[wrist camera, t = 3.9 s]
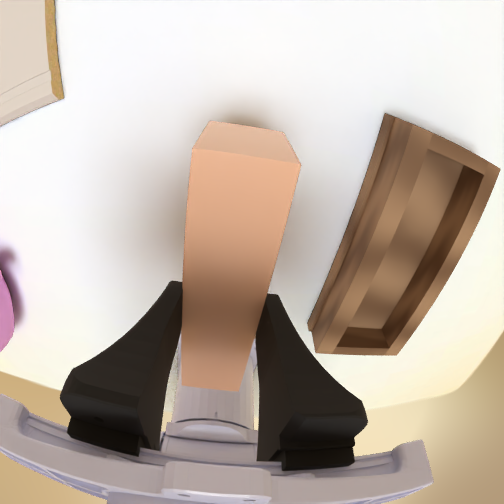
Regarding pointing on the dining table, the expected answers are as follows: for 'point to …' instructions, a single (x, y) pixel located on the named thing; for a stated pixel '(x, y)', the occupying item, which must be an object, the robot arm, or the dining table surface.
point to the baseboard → (27, 57)
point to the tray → (400, 240)
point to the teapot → (5, 314)
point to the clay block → (231, 246)
